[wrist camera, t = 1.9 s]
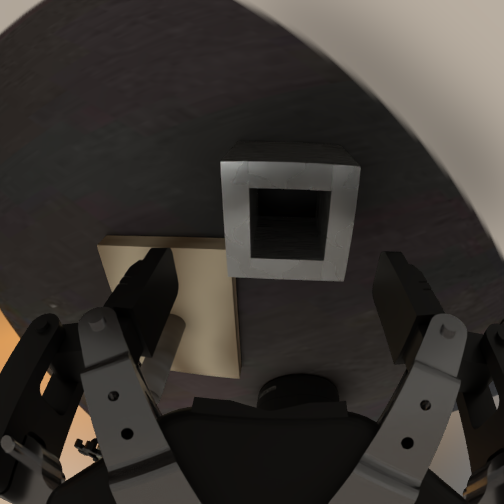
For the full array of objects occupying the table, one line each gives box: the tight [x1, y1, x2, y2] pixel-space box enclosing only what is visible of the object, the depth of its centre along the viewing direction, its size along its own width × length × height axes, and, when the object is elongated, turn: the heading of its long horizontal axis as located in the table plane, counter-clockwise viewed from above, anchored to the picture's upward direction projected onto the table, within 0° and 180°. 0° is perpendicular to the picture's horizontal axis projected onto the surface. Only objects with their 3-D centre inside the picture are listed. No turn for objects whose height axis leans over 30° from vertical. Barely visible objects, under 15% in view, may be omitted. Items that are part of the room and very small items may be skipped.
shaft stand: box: [97, 235, 242, 404], centre depth 20 cm, size 10×14×10 cm
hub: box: [220, 141, 361, 281], centre depth 16 cm, size 6×6×5 cm
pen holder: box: [257, 375, 339, 411], centre depth 25 cm, size 9×9×10 cm
